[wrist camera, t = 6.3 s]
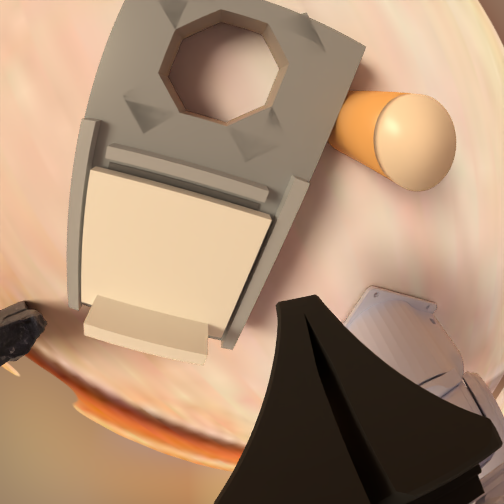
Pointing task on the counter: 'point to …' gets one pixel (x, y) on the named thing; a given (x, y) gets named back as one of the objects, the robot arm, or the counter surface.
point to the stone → (18, 331)
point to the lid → (163, 264)
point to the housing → (212, 122)
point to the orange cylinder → (397, 136)
